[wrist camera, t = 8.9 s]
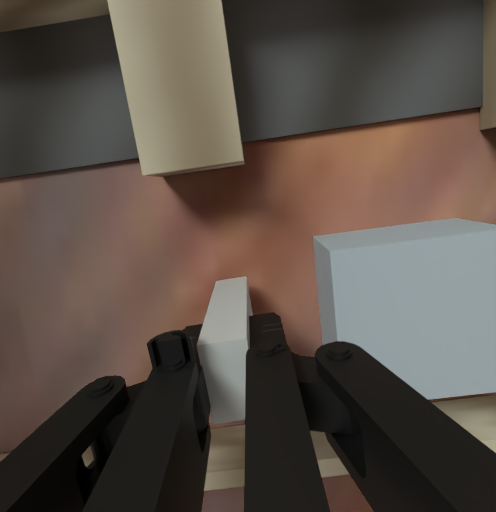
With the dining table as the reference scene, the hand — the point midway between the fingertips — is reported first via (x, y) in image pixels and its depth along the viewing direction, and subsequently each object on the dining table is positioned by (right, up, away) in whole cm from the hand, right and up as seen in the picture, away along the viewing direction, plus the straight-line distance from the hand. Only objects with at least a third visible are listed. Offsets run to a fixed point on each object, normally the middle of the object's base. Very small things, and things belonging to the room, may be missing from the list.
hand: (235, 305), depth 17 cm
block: (+8, 0, +1) cm, 8 cm away
